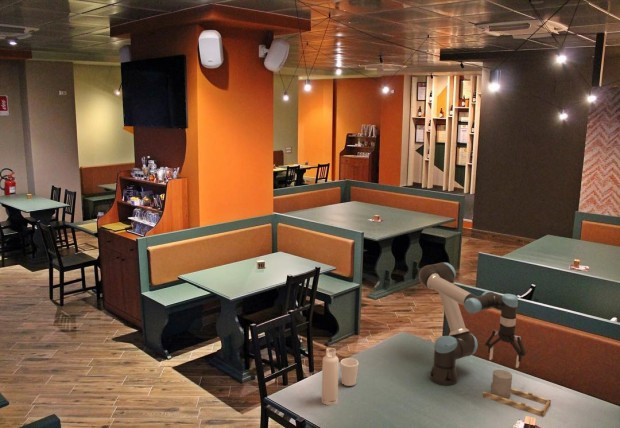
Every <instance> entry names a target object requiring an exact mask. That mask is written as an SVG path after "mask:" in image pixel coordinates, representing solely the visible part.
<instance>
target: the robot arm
mask: <svg viewBox="0 0 620 428" xmlns="http://www.w3.org/2000/svg"><path fill="white" fill-rule="evenodd" d="M456 276H457V275H456V269H455V267H454V266H453V265H452V264H450V263H449V262H438V263H433V264H427V265H425V266H423V267H422V268H421V269H420V271H419V273H418V279H419V282H420V284H422V285H423V286H424V287H425V288H427V289H428V290H432V291H433V290H434V291H436V292H438V295H439V297H440V302H441V305H442V307H443V312H444V314H445V318H446V321H447V324H448V328H449V331H450V332H449V334H448V335H443V336H439V337H437V338H436V339H435V344H434V353H433V356H434V357H433V365H432V367H431V370H430V371H429V372H430V373H429V379H430V380H431V382H434V383H435V384H438V385H439V386H440V385H442V386H453V385H455V384H457V383H458V372H457V369H456V362H457V360H459V359H463V358H466V357H470V356H472V355H474V354H475V353H476V352H477V350H478V346H479V344H478V339H477V338H476V336H474V334H473V333H471V331H470V329H468V328H466V325H465V322H464V318H463V316H462V312H461V309H460V306H459V304H460V305H462V306H464V309H465V311H466V312H467V313H468V314H476V313H480V312H483V311H487V310H491V309H495V310H497V311H500V321H499V329H498V330H497V329H493V330H492V333H491V335H490V337H489V338H488V339H487V340H486V342H485V343H484V345H485V346H486V347H488V348H487V349H488V351H487V353H488V354H489V359H488V360H489V361H492V360H493V356H494V355H493V354H494V346H495V345H496V344H497V343H499V342H500V341H502V342H505V343H509V344H510V345H511V347H513V348H514V351H515V352H516V353H517V355H516V360H515V361H516V362H515V368H516V369H517V368H519V366H520V362H522V361H523V357H524V356H526V354H527V351H526V349H525V347H524V344H523V341H522V336H521V335H516V333H515V332H516V324H517V311H518V307H519V306H518V305H519V303H518V301H519V298H518V296H517V295H515V294H511V293H504V294H503V295H501V294H498V293H495V292H494V291H489V290H486V291H484V292H483V293H482V294H481V295H478V296H477V295H475V294H473V293H471V292H469V291H467V290H465V289H463V288H461V287H460V286H458V285H456V284H455V279H456ZM497 335H498V338H496V339H495V340H494V341H492V340H493V338H494V337H495V336H497ZM516 341H517V342H516Z"/></svg>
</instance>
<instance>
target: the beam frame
mask: <svg viewBox="0 0 620 428" xmlns="http://www.w3.org/2000/svg"><path fill="white" fill-rule="evenodd" d="M490 387H491V388H492V382H491V386H490ZM511 394H512V395H515V396H518V397H521V398H523V399H527V400H531V401H533V402H536V403H539V404H543V405H544V406H543V408H541V409H539V408H536V407H533V406H530V405H527V404H526V403H524V402H517V401H514V400H512V399H506V398H503V397H500V396H497V395H494V394H491V393H490V392H487V391H483V392H482V398H486V399H488V400H492V401H495V402H497V403H500V404H504V405H507V406H510V407H512V408H515V409H519V410H522V411H525V412H528V413H531V414H534V415H537V416H539V417H542V418H544V417H545V414H546V413H547V412H548V410H549V408H550V406H551V402H552V400H551V399H548V398H544V397H542V396H538V395H536V394H533V393H532V392H526V391H522V390H519V389H516V388H512V387H511V393H510V395H511Z"/></svg>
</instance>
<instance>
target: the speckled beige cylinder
mask: <svg viewBox="0 0 620 428" xmlns="http://www.w3.org/2000/svg"><path fill="white" fill-rule="evenodd" d="M512 381H513V373H511V372H510V371H507V370H504V369H495V370H493V371H492V381H491V383H492V387H491V394H494V395H497V396H500V397H503V398H506V399H509V400H511V388H512V384H513V383H512Z"/></svg>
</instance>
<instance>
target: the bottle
mask: <svg viewBox="0 0 620 428" xmlns="http://www.w3.org/2000/svg"><path fill="white" fill-rule="evenodd" d="M330 350H333V351H330ZM325 352H326V353H325V355H324V356H323V358H322V370H321V371H322V372H321V375H322V376H321V379H322V380H321V403H322V402H323V403H324V405H325V404H326V406H334V405H333V404H335V405H336V404H338V399H339V398H338V397H339V395H338V394H339V365H340V359H339V357H338V356H337V355H336V354H337V352H336V348H334V347H327V348H326V350H325ZM323 403H322V404H323Z"/></svg>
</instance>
